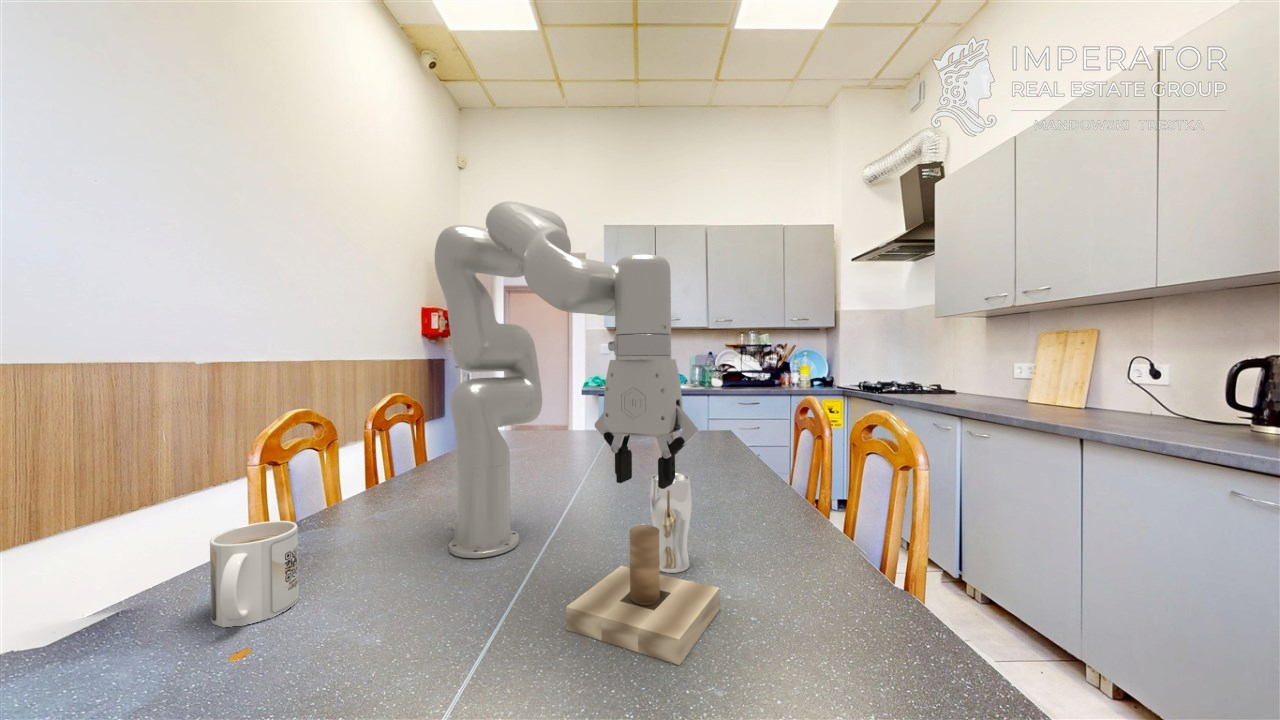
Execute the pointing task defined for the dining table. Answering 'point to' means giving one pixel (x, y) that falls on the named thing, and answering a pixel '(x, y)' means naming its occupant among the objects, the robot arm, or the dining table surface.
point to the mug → (253, 572)
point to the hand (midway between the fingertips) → (644, 482)
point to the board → (645, 615)
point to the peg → (644, 566)
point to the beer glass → (672, 521)
